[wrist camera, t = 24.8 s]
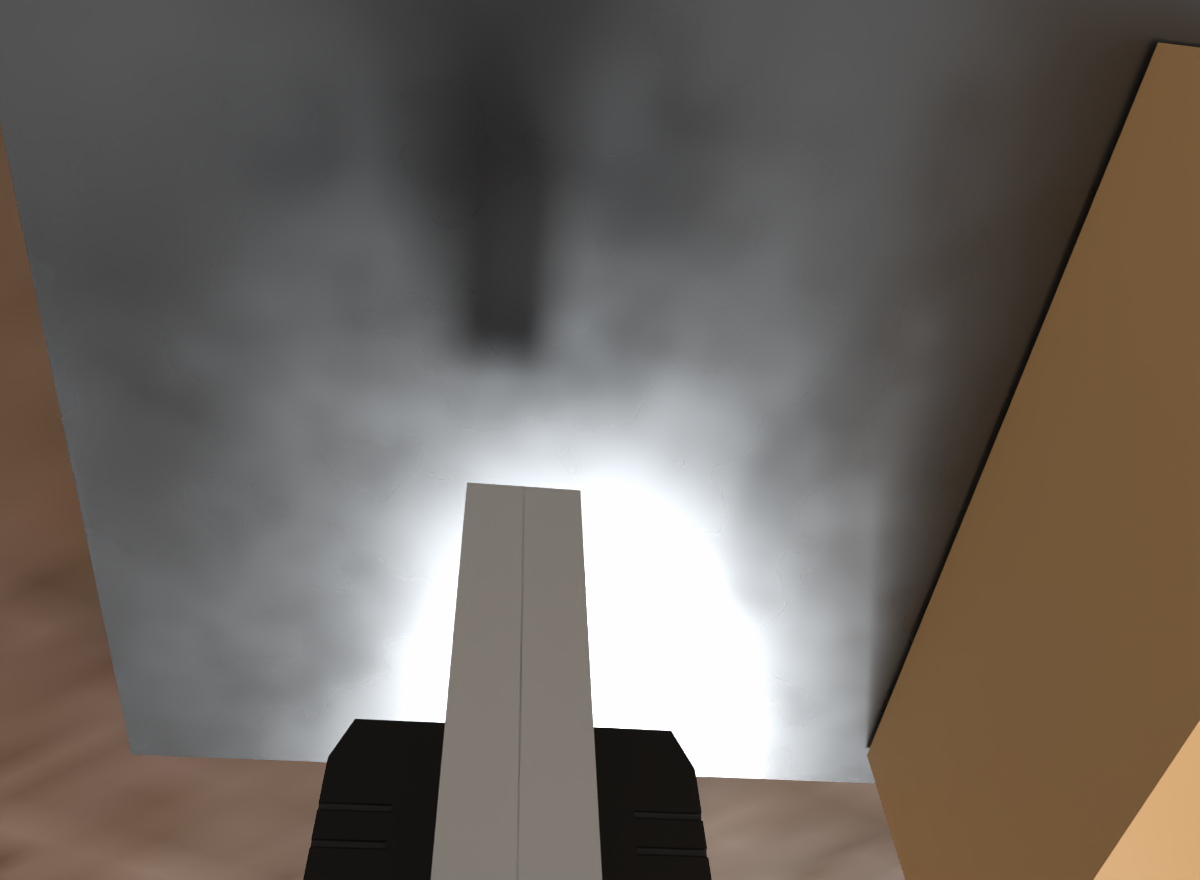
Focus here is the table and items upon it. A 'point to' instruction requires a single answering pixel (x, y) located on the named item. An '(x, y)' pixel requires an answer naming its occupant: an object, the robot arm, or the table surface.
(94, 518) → the base
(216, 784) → the table surface
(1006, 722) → the bar
